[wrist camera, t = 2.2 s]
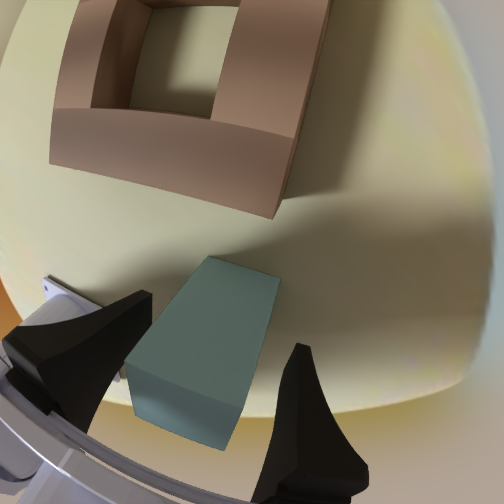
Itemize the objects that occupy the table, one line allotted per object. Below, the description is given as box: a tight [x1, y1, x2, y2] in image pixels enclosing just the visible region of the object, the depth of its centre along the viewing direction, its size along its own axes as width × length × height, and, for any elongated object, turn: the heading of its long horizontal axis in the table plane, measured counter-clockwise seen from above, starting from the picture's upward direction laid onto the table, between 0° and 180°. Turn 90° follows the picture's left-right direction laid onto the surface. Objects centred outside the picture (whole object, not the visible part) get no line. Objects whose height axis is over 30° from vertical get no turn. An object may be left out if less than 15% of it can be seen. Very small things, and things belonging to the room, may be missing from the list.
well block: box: [49, 0, 333, 220], centre depth 9 cm, size 12×12×3 cm
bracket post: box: [124, 256, 281, 451], centre depth 12 cm, size 4×4×8 cm
